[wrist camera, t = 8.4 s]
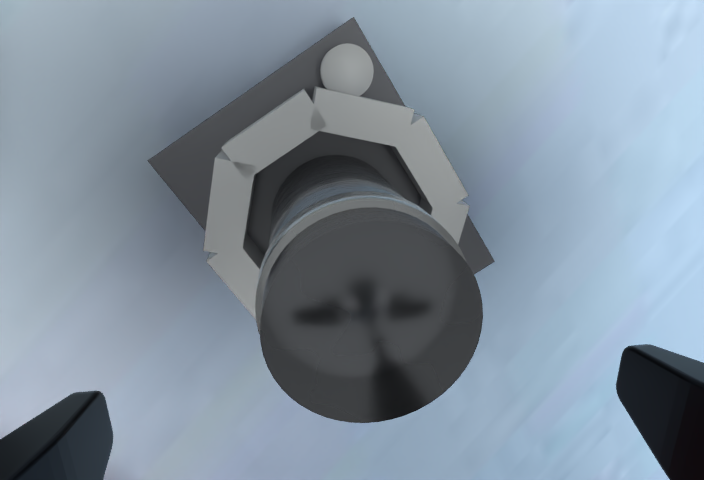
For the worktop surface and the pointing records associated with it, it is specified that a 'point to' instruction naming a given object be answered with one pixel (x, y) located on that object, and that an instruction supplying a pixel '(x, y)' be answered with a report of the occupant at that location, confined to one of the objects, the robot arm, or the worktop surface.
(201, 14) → the worktop surface
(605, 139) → the worktop surface
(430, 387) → the lens
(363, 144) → the camera body mount
